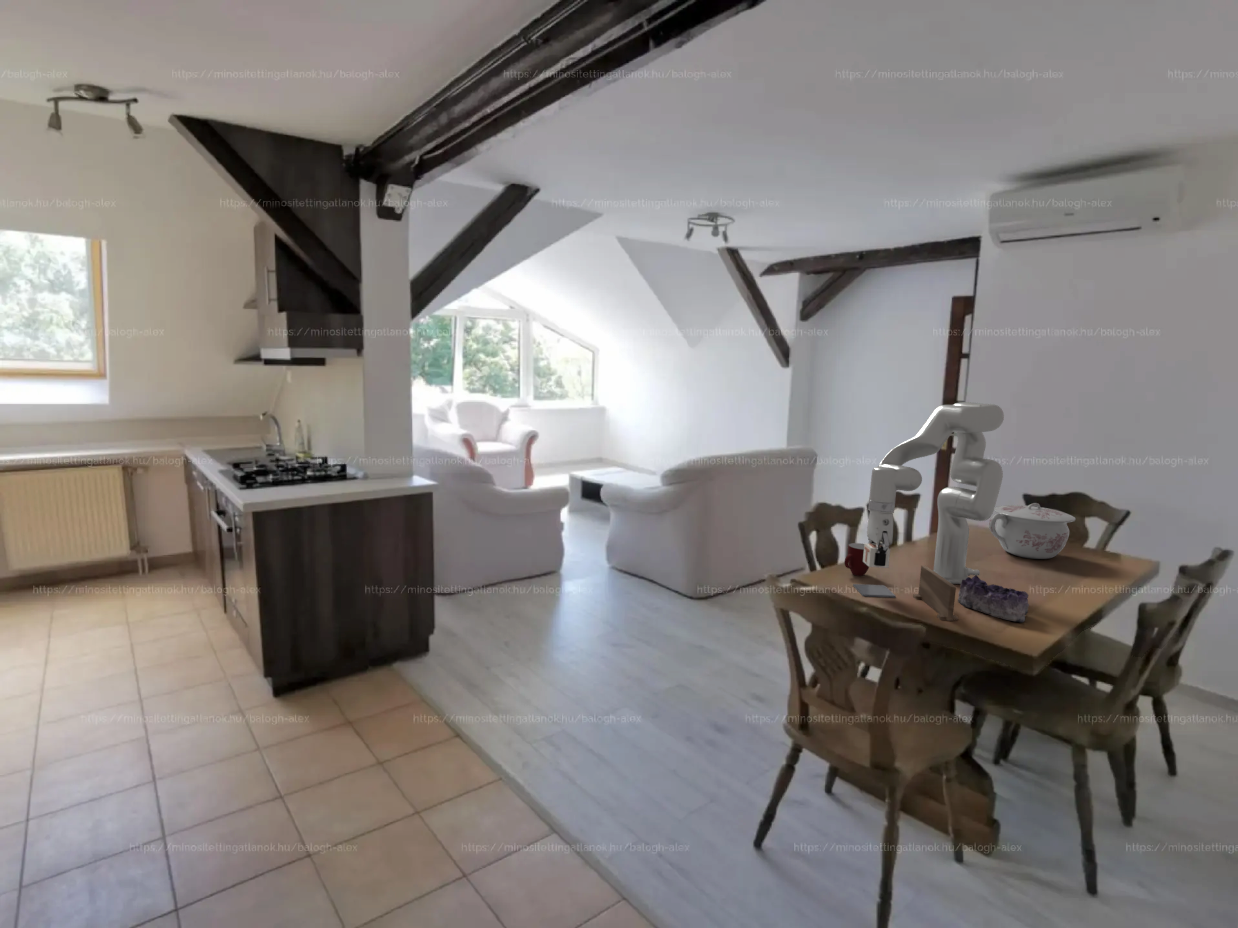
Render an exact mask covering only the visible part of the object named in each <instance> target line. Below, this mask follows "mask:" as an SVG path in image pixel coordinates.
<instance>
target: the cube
mask: <svg viewBox="0 0 1238 928" xmlns="http://www.w3.org/2000/svg"><path fill="white" fill-rule="evenodd" d="M863 544H864V554H863V562H864V563H865V564H866V565H867V566H869V568H881V569H883V568H885V569H889V565H890V555H891V548H889V547H888V549H887V554H886V562H885V566H875V565H874V562H875V553H877V547H876V544H870V543H868V542H867V543H865V542H864V543H863ZM880 547H881V546H880Z"/></svg>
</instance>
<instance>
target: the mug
mask: <svg viewBox="0 0 1238 928" xmlns="http://www.w3.org/2000/svg"><path fill="white" fill-rule="evenodd" d="M863 554H864V543H860V542H853V543H848V545H847V555H846V557H845V559H844V566H845V568H847V569H849V570H850V571H851V572H850V573H851V574H852V575H854V576H857V577H863V576H865V575H866V574H867V572H868V570H869V568H870V567H869V566H867V565H866V564H865V563H864V562H863Z"/></svg>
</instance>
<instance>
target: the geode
mask: <svg viewBox="0 0 1238 928" xmlns="http://www.w3.org/2000/svg"><path fill="white" fill-rule="evenodd" d="M957 594H958V599H957V603H959V604H960V605H961V606H963V607H964V608H969V609H972V610H974V611H979V612H981V613H984V614H986V615H989V616H992V617H994V618H998V619H1002V620H1006V621H1011V622H1017V623H1020V624H1023V623H1024V622H1025V621H1026V616H1027V614H1028V611H1029V594H1028V592H1026V591H1023V590H1016V588H1011V587H1010V588H1008V587H1003V586H1002V585H998V584H997V585H996V584H988V583H987V582H986V581H985V580H983V579H981V578H980V577H979V575H973V576H972V578H971V577H970V576H968V578H966V580H962V582H961V584H960V587H959V591H958V593H957Z"/></svg>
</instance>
